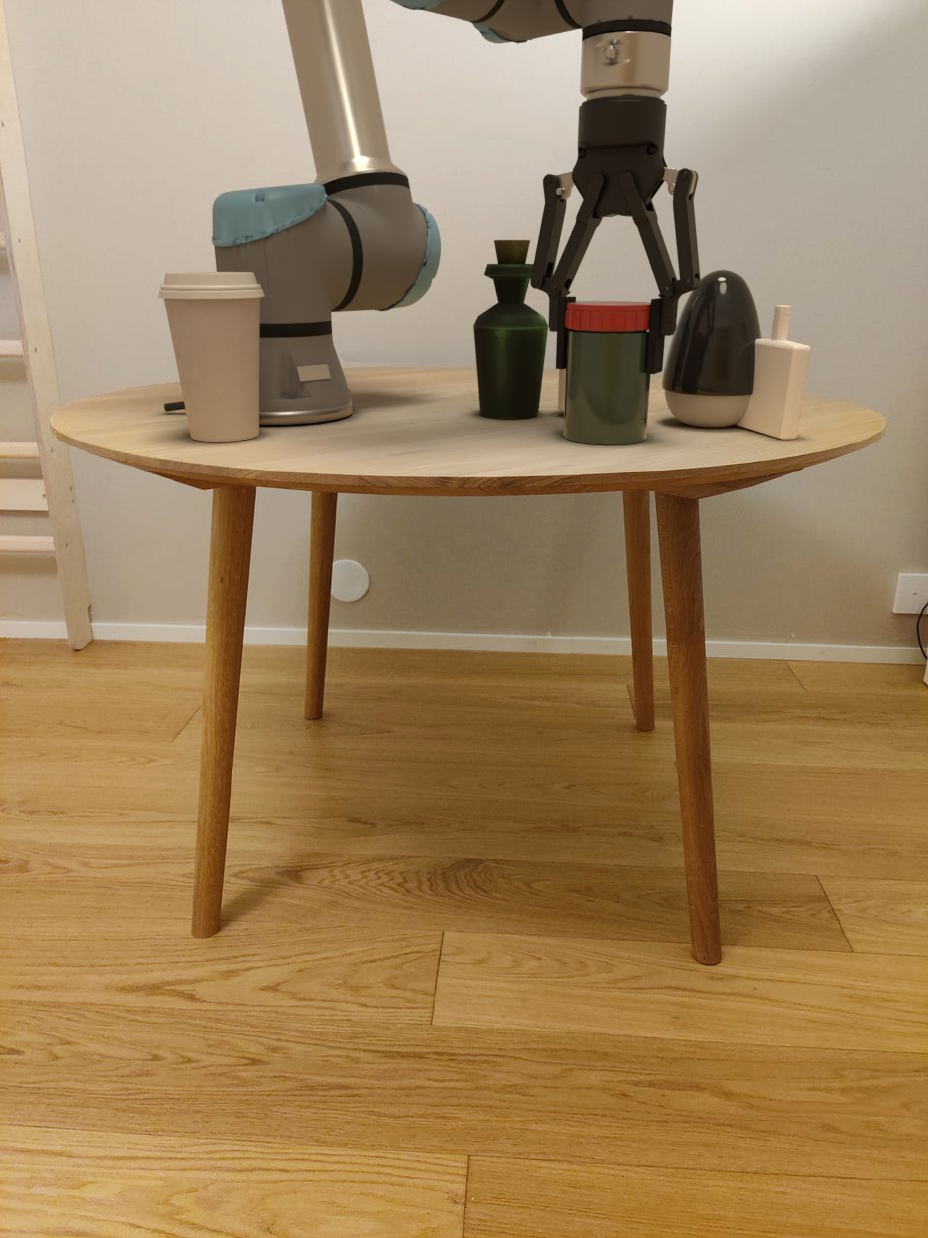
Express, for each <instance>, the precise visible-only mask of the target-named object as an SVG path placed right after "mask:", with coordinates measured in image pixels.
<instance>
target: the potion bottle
mask: <svg viewBox="0 0 928 1238" xmlns="http://www.w3.org/2000/svg"><path fill="white" fill-rule="evenodd" d="M493 243H494V244H493V245H494V250H495V256H496V261H497V263H486V267H485V269H484V272H483V276H485V277H487V278H489V279H491V280H492V282H493V286H494V290H495V296H496V299H497V303H495V304H494V305H492V306H491V307H489V308H488V309H486V310H485V311H483V312H482V313H480V314H478V316H476V319H475V320H474V323H473V324H472V330H473V340H474V353H475V365H476V366H475V367H476V378H477V392H478V406H479V412H480V414H481V415H482V416H483V417H485V418H491V419H498V420H499V419H500V420H521V419H530V418H534V417H536V416H537V415H538V414H539V411H540V401H541V394H542V386H543V376H544V367H545V359H546V350H547V341H548V331H549V326H548V322H547V320H546V318H545V316H543V315H542V314H541V313H539V311H537V310H536V309H534V308H532V307H531V306H529V305H528V304H526V303H525V299H526V296H527V291H528V288H529V284H530V280H531V275H532V269H533V264H534V263H526V262H527V258H528V254H529V248H530V244H531V239H494V240H493Z"/></svg>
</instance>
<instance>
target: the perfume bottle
mask: <svg viewBox="0 0 928 1238" xmlns="http://www.w3.org/2000/svg"><path fill="white" fill-rule="evenodd" d="M791 312H792V306H791V305H784V304H783V305H781V304H779V305H778V304H776V305H775V306H774V312H773V313H774V314H773V320H772V328H771V335H770V338H762V339H756V341H755V370H754V386H753V393H752V395H750V400H749V404H748V407H747V409H746V412H745V414H744V416H743V417H742V419H741V420H740V421H739V422H738V423H737V424H736V425H737V426H738V427H741V428H743V429H746V430H750V431H752V432H753V431H754V432H756V433H760V434H762V435H766V436H769V437H772V438H776V439H778V440H783V441H784V440H785V441H788V440H796V439H797V438H798V436H799V431H800V430H799V429H800V424H801V423H800V422H801V416H802V409H803V401H804V397H805V391H806V383H807V377H808V372H809V371H808V369H809V365H810V358H811V350H812V349H811V347H810V345H807V344H804V343H799V342H796V341H791V340H788V336H789V335H788V333H789V327H790V320H791Z"/></svg>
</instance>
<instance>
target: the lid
mask: <svg viewBox="0 0 928 1238" xmlns="http://www.w3.org/2000/svg"><path fill="white" fill-rule="evenodd" d="M650 308H651V301H650V302H649V301H629V300H628V301H627V300H626V301H624V300H623V301H622V300H621V301H620V300H619V301H618V300H596V301H587V302H569V303H567V310H566V316H565V326H566V328H568V329H574V330H588V331H642V330H649V323H650Z"/></svg>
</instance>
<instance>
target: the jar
mask: <svg viewBox="0 0 928 1238" xmlns="http://www.w3.org/2000/svg"><path fill="white" fill-rule="evenodd" d="M648 337H649V330H642V331H588V330H574V329H569V330H567V352H566V378H565V404H564V413H563V434H562V436H563V438H565V439H566V440H568V441H571V442H574V443H575V442H576V443H580V444H587V445H599V446H600V445H606V446H609V445H611V446H616V445H619V446H620V445H631V444H636V443H641V442H644V441H645V440H646V439H647V430H648V429H647V428H648V415H649V402H650V388H651V375H652V374H646V366H647V352H648Z"/></svg>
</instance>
